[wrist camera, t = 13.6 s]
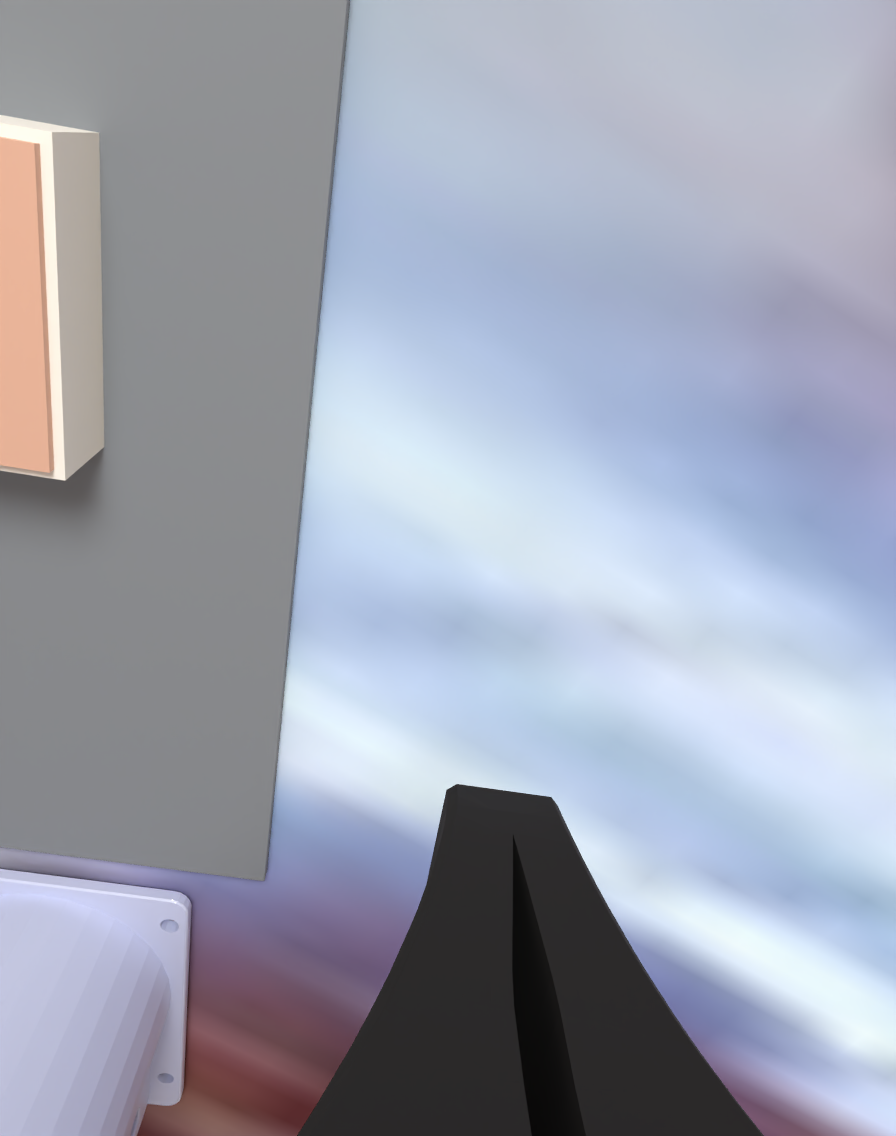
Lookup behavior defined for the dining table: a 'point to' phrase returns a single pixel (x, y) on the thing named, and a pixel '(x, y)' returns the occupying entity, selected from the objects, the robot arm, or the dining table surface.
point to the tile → (50, 299)
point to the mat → (172, 430)
